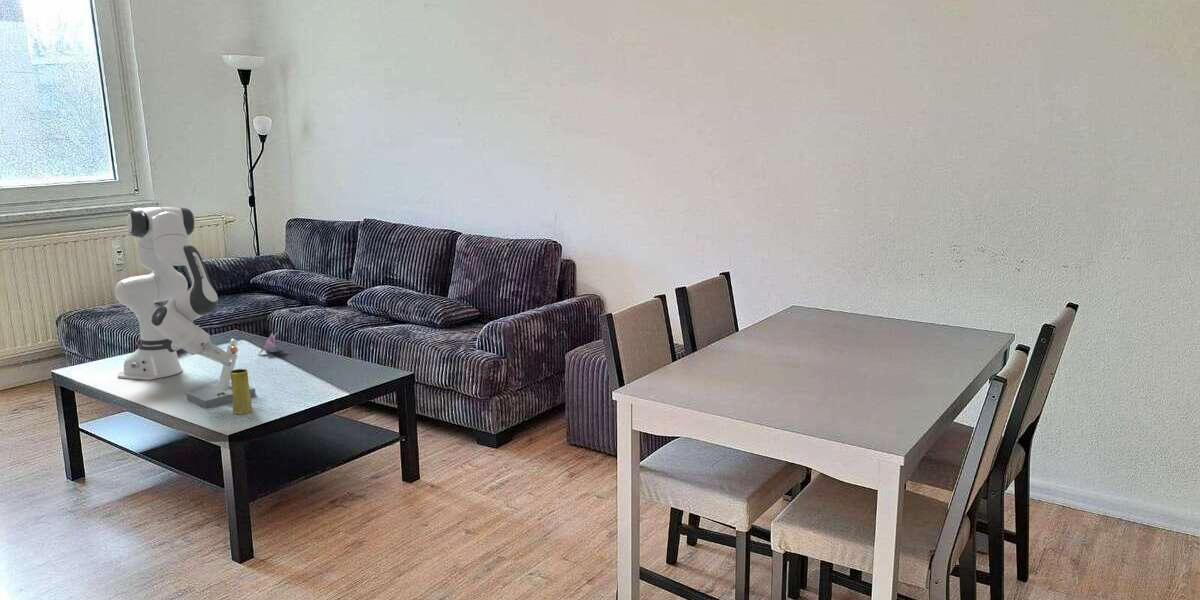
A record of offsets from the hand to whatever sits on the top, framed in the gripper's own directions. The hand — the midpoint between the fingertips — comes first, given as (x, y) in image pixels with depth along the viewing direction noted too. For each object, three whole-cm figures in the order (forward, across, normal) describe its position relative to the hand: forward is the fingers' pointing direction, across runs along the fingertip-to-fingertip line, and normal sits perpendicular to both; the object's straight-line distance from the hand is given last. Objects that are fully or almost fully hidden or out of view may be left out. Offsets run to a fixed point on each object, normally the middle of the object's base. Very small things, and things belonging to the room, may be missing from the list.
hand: (226, 363), depth 301 cm
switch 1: (+8, +9, +5) cm, 13 cm away
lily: (+37, +46, -19) cm, 62 cm away
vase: (+7, -16, +12) cm, 21 cm away
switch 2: (+5, 0, +8) cm, 9 cm away
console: (+9, +4, +10) cm, 14 cm away
